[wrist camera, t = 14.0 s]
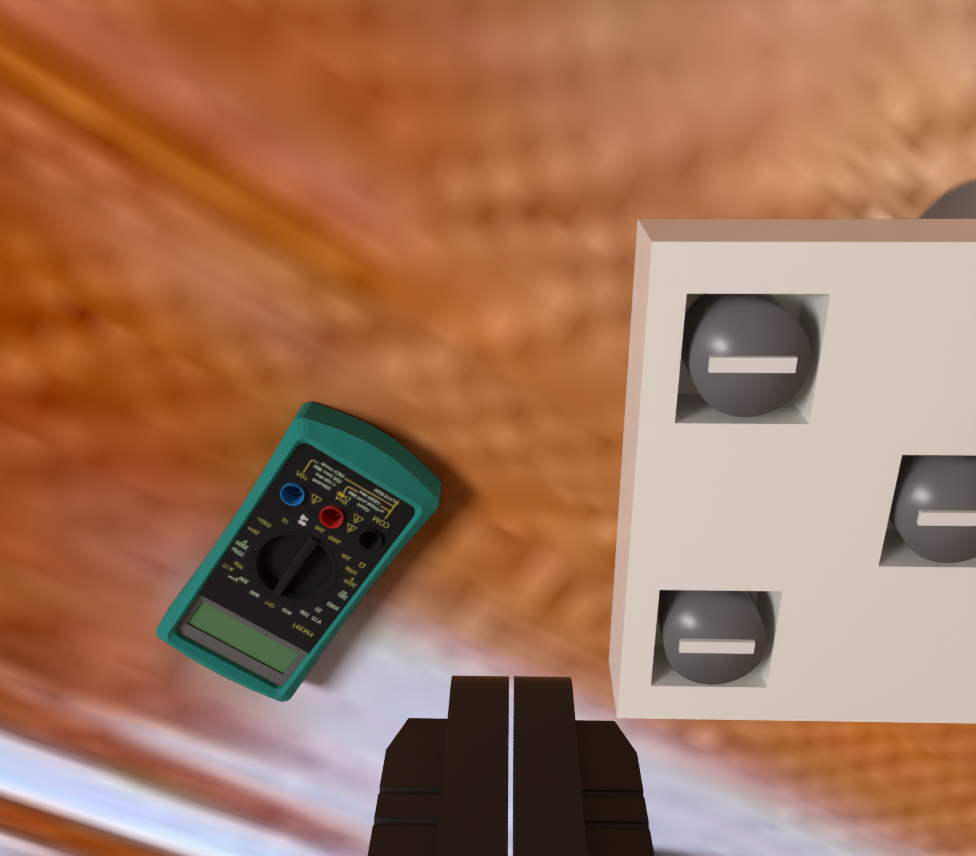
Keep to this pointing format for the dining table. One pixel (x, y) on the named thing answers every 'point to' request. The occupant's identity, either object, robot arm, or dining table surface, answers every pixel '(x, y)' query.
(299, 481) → the digital multimeter
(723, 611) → the knob
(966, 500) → the knob
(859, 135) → the dining table surface
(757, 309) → the knob
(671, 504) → the knob mount
